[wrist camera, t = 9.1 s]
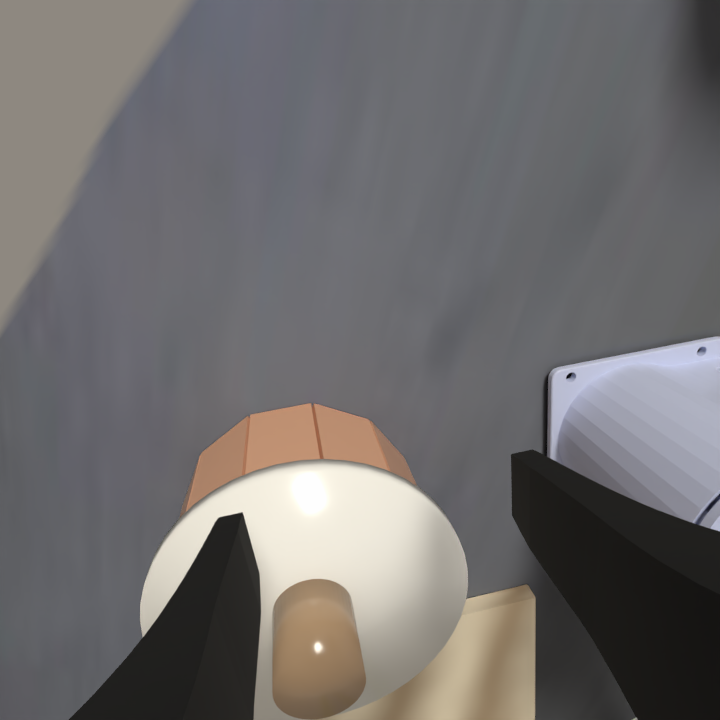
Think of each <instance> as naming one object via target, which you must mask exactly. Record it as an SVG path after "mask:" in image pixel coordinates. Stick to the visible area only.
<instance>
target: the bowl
mask: <svg viewBox="0 0 720 720" xmlns="http://www.w3.org/2000/svg"><path fill="white" fill-rule="evenodd" d="M313 459H333V460H347V461H353V462H359V463H365V464H369V465H372V466H375V467H379V468H382V469H385V470H388V471H390V472H392V473H394V474H397V475H399V476H401V477H403V478H405V479H407V480H408V481H410V482H411V483H413V484H415V485H416V483H415V480H414V478H413V476H412V474H411V472H410V469H409V467H408V465H407V463H406V461H405V458H404V457H403V456H402V455H401V454H400V452H399V451H398V450H397V449H396V448H395V447H394V446H393V445H392V444H391V442H390V441H389V440H388V439H387V438H386V437H385V436H384V435H383V434H382V432H381V431H380V430H379V429H378V428H377V427H376V426H375V425H374V424H373V423H372V421H370V422H369V419H366V418H362V417H359V416H355V415H352V414H349V413H345V412H342V411H339V410H335V409H332V408H328V407H325V406H322V405H318V404H315V403H314V404H313V407H312V406H311V403H309V404H304V405H298V406H293V407H288V408H283V409H278V410H272V411H267V412H262V413H257V414H252V415H250V418H249V417H248V416H247V417H246V418H245V419H243V420H242V421H241V422H239V423H238V424H237V425H236V426H234V427H233V428H232V429H231V430H229V431H228V432H227V433H226V434H224V435H223V436H222V437H221V438H219V439H218V440H217V441H216V442H214V443H213V444H212V445H211V446H209V447H208V448H207V449H206V450H204V451H203V452H202V454H201V455H200V457H199V459H198V462H197V465H196V468H195V471H194V474H193V477H192V480H191V483H190V485H189V488H188V491H187V494H186V497H185V500H184V503H183V506H182V510H181V514H180V517H181V516H182V515H183V514H184V513H185V512H186V511H187V510H188V509H190V508H191V507H192V506H193V505H194V504H195V503H196V502H198V501H199V500H201V499H202V498H203V497H205V496H206V495H207V494H209V493H210V492H211V491H213V490H215V489H217V488H219V487H220V486H222V485H224V484H226V483H227V482H229V481H231V480H233V479H236V478H238V477H240V476H243V475H245V474H247V473H250V472H252V471H255V470H259V469H262V468H265V467H269V466H272V465H276V464H281V463H287V462H293V461H298V460H313ZM416 486H417V485H416Z"/></svg>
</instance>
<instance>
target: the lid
mask: <svg viewBox="0 0 720 720" xmlns="http://www.w3.org/2000/svg"><path fill="white" fill-rule="evenodd" d="M241 512H243V515H244V519H245V522H246V526H247V529H248V533H249V537H250V540H251V544H252V548H253V551H254V555H255V559H256V562H257V566H258V570H259V573H260V594H261V622H260V635H259V649H258V661H257V674H256V687H255V700H254V720H314V719H322V718H326V717H330V716H334V715H339V714H342V713H345V712H348V711H352V710H355V709H358V708H360V707H363V706H365V705H367V704H370V703H372V702H374V701H377V700H379V699H381V698H382V697H384V696H386V695H388V694H390V693H392V692H394V691H395V690H397V689H398V688H400V687H401V686H403V685H404V684H406V683H407V682H409V681H410V680H411V679H412V678H414V677H415V676H416V675H417V674H419V673H420V672H421V671H422V670H423V669H424V668H425V667H426V666H427V665H428V664H429V663H430V662H431V661H432V660H433V659H434V658H435V657H436V656H437V655H438V654H439V652H440V651H441V650H442V649H443V647H444V646H445V645H446V643H447V642H448V640H449V639H450V637H451V635H452V634H453V632H454V631H455V628H456V626H457V624H458V622H459V620H460V618H461V615H462V612H463V608H464V605H465V602H466V596H467V589H468V569H467V564H466V558H465V554H464V551H463V549H462V546H461V543H460V541H459V538H458V536H457V534H456V532H455V530H454V528H453V526H452V525H451V523H450V521H449V520H448V518H447V516H446V515H445V513H444V512H443V510H442V509H441V508H440V507H439V506H438V504H437V503H436V502H435V501H434V500H433V499H432V498H431V497H430V496H429V495H428V494H426V493H425V492H424V491H423V490H422V489H421V488H419V487H418V486H416V485H415V484H413V483H411V482H410V481H408V480H407V479H405V478H403V477H401V476H399V475H397V474H394V473H392V472H390V471H388V470H385V469H382V468H379V467H375V466H372V465H369V464H365V463H359V462H353V461H347V460H333V459H313V460H298V461H293V462H287V463H281V464H276V465H272V466H269V467H265V468H262V469H259V470H255V471H252V472H250V473H247V474H245V475H243V476H240V477H238V478H236V479H233V480H231V481H229V482H227V483H226V484H224V485H222V486H220V487H219V488H217V489H215V490H213V491H211V492H210V493H209V494H207V495H206V496H205V497H203V498H202V499H201V500H199V501H198V502H196V503H195V504H194V505H193V506H192V507H191V508H190V509H188V510H187V511H186V512H185V513H184V514H183V515H182V516H181V517H180V518H179V519H178V520H177V521H176V523H175V524H174V525H173V526H172V528H171V529H170V530H169V531H168V533H167V534H166V535H165V537H164V539H163V540H162V542H161V544H160V545H159V547H158V549H157V551H156V552H155V555H154V558H153V560H152V563H151V565H150V568H149V571H148V574H147V577H146V581H145V584H144V588H143V593H142V598H141V603H140V623H141V629H142V635H143V637H144V635H145V634H146V633H147V631H148V630H149V629H150V627H151V626H152V625H153V623H154V622H155V620H156V619H157V618H158V616H159V615H160V613H161V612H162V610H163V609H164V607H165V606H166V604H167V603H168V601H169V600H170V598H171V597H172V595H173V594H174V592H175V591H176V590H177V588H178V586H179V585H180V583H181V582H182V580H183V578H184V577H185V575H186V573H187V572H188V570H189V568H190V567H191V565H192V563H193V562H194V560H195V558H196V556H197V555H198V553H199V551H200V549H201V547H202V546H203V544H204V542H205V540H206V538H207V536H208V535H209V533H210V531H211V529H212V527H213V525H214V523H215V522H216V520H217V519H218V518H219V517H223V516H227V515H232V514H237V513H241Z"/></svg>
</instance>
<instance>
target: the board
mask: <svg viewBox="0 0 720 720" xmlns="http://www.w3.org/2000/svg"><path fill="white" fill-rule="evenodd" d="M535 607H536V598H535V596H534V594H533V593H532V591H531V589H530V588H529V586H528V585H527V584H526V585H522V586H518V587H514V588H510V589H506V590H502V591H497V592H493V593H489V594H485V595H481V596H477V597H473V598H468V599H466V602H465V605H464V608H463V612H462V615H461V618H460V620H459V622H458V624H457V626H456V628H455V631H454V632H453V634H452V635H451V637H450V639H449V640H448V642H447V643H446V645H445V646H444V647H443V649H442V650H441V651H440V652H439V654H438V655H437V656H436V657H435V658H434V659H433V660H432V661H431V662H430V663H429V664H428V665H427V666H426V667H425V668H424V669H423V670H422V671H421V672H420V673H419V674H417V675H416V676H415V677H414V678H412V679H411V680H410V681H409V682H407V683H406V684H404V685H403V686H401V687H400V688H398V689H397V690H395V691H394V692H392V693H390V694H388V695H386V696H384V697H382V698H381V699H379V700H377V701H374V702H372V703H370V704H367V705H365V706H363V707H360V708H358V709H355V710H352V711H348V712H345V713H342V714H339V715H334V716H330V717H326V718H322V719H314V720H535Z"/></svg>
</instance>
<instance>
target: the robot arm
mask: <svg viewBox="0 0 720 720" xmlns="http://www.w3.org/2000/svg"><path fill="white" fill-rule="evenodd" d="M699 348H700V350H699V351H698V349H699ZM697 351H698V352H697ZM571 372H572V374H571V376H570V378H568V379H566V377H567V375H568V374H569V373H571ZM511 472H512V516H513V518H514V520H515V522H516V524H517V526H518V528H519V530H520V531H521V533H522V535H523V537H524V539H525V541H526V543H527V544H528V546H529V548H530V550H531V551H532V553H533V554H534V555H535V557H536V558H537V560H538V561H539V563H540V564H541V566H542V567H543V568H544V570H545V571H546V573H547V574H548V576H549V577H550V578H551V580H552V581H553V583H554V584H555V585H556V587H557V588H558V590H559V591H560V592H561V594H562V595H563V597H564V598H565V599H566V601H567V602H568V604H569V605H570V606H571V608H572V609H573V611H574V612H575V614H576V615H577V616H578V618H579V619H580V621H581V622H582V624H583V625H584V627H585V628H586V630H587V631H588V633H589V634H590V636H591V637H592V639H593V641H594V642H595V644H596V646H597V648H598V649H599V651H600V653H601V655H602V656H603V658H604V660H605V662H606V663H607V665H608V667H609V669H610V670H611V672H612V674H613V675H614V677H615V679H616V681H617V683H618V685H619V686H620V688H621V690H622V692H623V694H624V696H625V697H626V699H627V701H628V703H629V705H630V706H631V708H632V710H633V712H634V714H635V716H636V717H637V719H638V720H720V337H710V338H705V339H700V340H695V341H690V342H685V343H680V344H675V345H669V346H664V347H659V348H654V349H649V350H644V351H639V352H634V353H628V354H623V355H618V356H613V357H608V358H603V359H598V360H593V361H587V362H582V363H577V364H572V365H567V366H562V367H557V368H555V369H553V370H552V371H551V372H550V374H549V377H548V430H547V456H545V455H543V454H541V453H539V452H537V451H534V450H529V451H524V452H519V453H515V454H511ZM260 622H261V594H260V573H259V570H258V566H257V562H256V559H255V555H254V551H253V548H252V544H251V540H250V537H249V533H248V529H247V526H246V522H245V519H244V515H243V512H241V513H237V514H232V515H227V516H223V517H219V518H218V519H217V520H216V522H215V523H214V525H213V527H212V529H211V531H210V533H209V535H208V536H207V538H206V540H205V542H204V544H203V546H202V547H201V549H200V551H199V553H198V555H197V556H196V558H195V560H194V562H193V563H192V565H191V567H190V568H189V570H188V572H187V573H186V575H185V577H184V578H183V580H182V582H181V583H180V585H179V586H178V588H177V590H176V591H175V592H174V594H173V595H172V597H171V598H170V600H169V601H168V603H167V604H166V606H165V607H164V609H163V610H162V612H161V613H160V615H159V616H158V618H157V619H156V620H155V622H154V623H153V625H152V626H151V627H150V629H149V630H148V631H147V633H146V634H145V635H144V637H143V638H142V639H141V640H140V642H139V643H138V644H137V645H136V647H135V648H134V649H133V651H132V652H131V653H130V654H129V655H128V657H127V658H126V659H125V660H124V661H123V663H122V664H121V665H120V666H119V667H118V668H117V669H116V670H115V671H114V673H113V674H112V675H111V676H110V677H109V678H108V679H107V680H106V681H105V683H104V684H103V685H102V686H101V687H100V688H99V689H98V690H97V691H96V693H95V694H94V695H93V696H92V697H91V698H90V699H89V700H88V701H87V702H86V703H85V704H84V705H83V706H82V707H81V708H80V709H79V710H78V711H77V712H76V713H75V714H74V715H73V716H72V717H71V718H70V719H69V720H254V700H255V687H256V674H257V661H258V649H259V635H260Z"/></svg>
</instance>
